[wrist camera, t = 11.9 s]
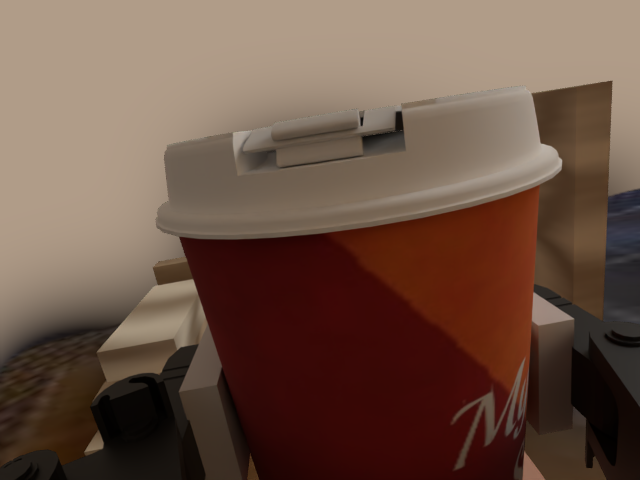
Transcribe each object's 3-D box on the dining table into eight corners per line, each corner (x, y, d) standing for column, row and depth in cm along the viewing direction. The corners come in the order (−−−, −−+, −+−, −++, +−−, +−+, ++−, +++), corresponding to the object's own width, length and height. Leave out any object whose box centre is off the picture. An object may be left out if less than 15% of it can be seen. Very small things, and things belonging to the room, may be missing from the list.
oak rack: (599, 392, 22) (612, 80, 17) (91, 490, 21) (-32, 189, 16) (465, 278, 38) (453, 105, 34) (179, 331, 37) (129, 160, 33)
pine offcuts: (189, 464, 21) (159, 368, 20) (88, 483, 21) (49, 388, 20) (227, 335, 35) (211, 271, 33) (166, 346, 35) (147, 283, 33)
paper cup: (627, 856, 7) (712, 44, 4) (241, 793, 9) (9, 165, 5) (504, 486, 15) (490, 93, 11) (305, 485, 16) (231, 136, 12)
